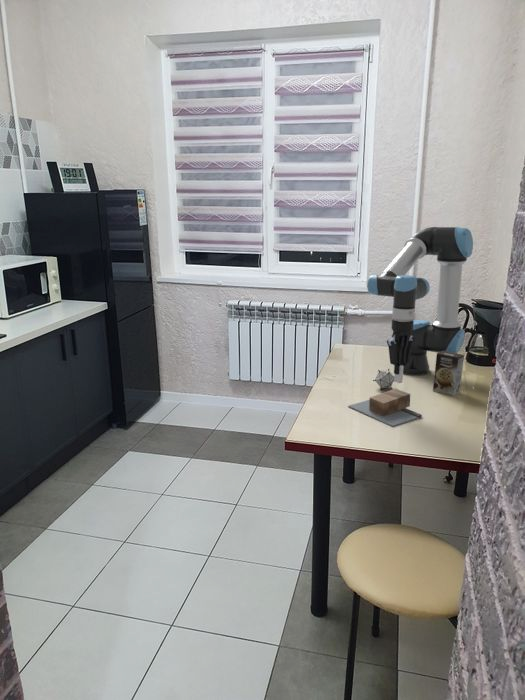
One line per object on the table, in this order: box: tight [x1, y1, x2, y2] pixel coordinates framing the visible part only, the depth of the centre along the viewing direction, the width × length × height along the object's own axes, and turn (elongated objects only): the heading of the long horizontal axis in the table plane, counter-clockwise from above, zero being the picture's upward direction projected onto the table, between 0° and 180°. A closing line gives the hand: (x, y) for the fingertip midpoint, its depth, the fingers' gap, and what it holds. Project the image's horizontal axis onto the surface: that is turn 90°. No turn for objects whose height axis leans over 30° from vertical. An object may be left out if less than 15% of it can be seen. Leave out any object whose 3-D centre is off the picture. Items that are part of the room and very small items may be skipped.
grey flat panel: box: [348, 399, 423, 428], centre depth 189 cm, size 15×22×1 cm
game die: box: [372, 368, 395, 390], centre depth 213 cm, size 9×8×10 cm
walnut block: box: [368, 388, 411, 416], centre depth 190 cm, size 5×7×14 cm
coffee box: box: [432, 351, 465, 397], centre depth 208 cm, size 9×6×16 cm
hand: (398, 381), depth 190 cm, fingers closed
